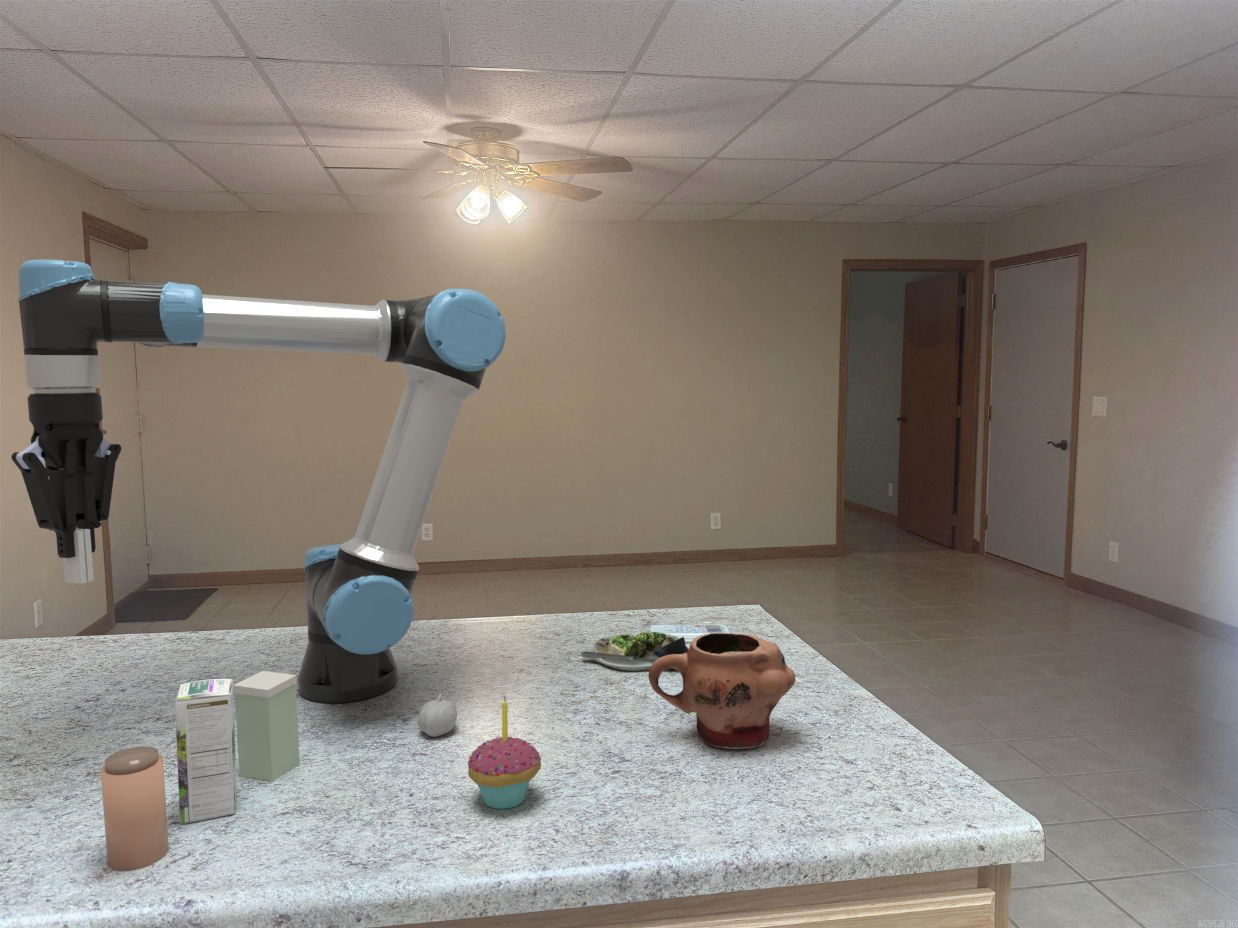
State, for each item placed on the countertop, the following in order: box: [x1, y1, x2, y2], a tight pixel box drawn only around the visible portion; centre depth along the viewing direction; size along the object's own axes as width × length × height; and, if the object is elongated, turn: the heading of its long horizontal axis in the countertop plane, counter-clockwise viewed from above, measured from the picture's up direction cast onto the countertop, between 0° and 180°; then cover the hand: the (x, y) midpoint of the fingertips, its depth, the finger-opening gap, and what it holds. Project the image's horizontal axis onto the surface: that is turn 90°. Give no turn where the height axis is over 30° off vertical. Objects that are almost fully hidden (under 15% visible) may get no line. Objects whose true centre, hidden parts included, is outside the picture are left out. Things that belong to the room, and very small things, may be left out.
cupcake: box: [467, 694, 542, 810], centre depth 99 cm, size 9×8×12 cm
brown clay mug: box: [648, 632, 796, 750], centre depth 115 cm, size 20×12×14 cm, turn 97°
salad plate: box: [580, 631, 689, 672], centre depth 148 cm, size 19×18×5 cm
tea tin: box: [233, 670, 300, 783], centre depth 106 cm, size 5×5×12 cm
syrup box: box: [174, 678, 238, 825], centre depth 97 cm, size 6×6×14 cm
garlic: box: [417, 693, 458, 738], centre depth 118 cm, size 6×5×5 cm
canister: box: [100, 745, 170, 872], centre depth 88 cm, size 6×6×11 cm
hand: (79, 581), depth 105 cm, fingers closed
